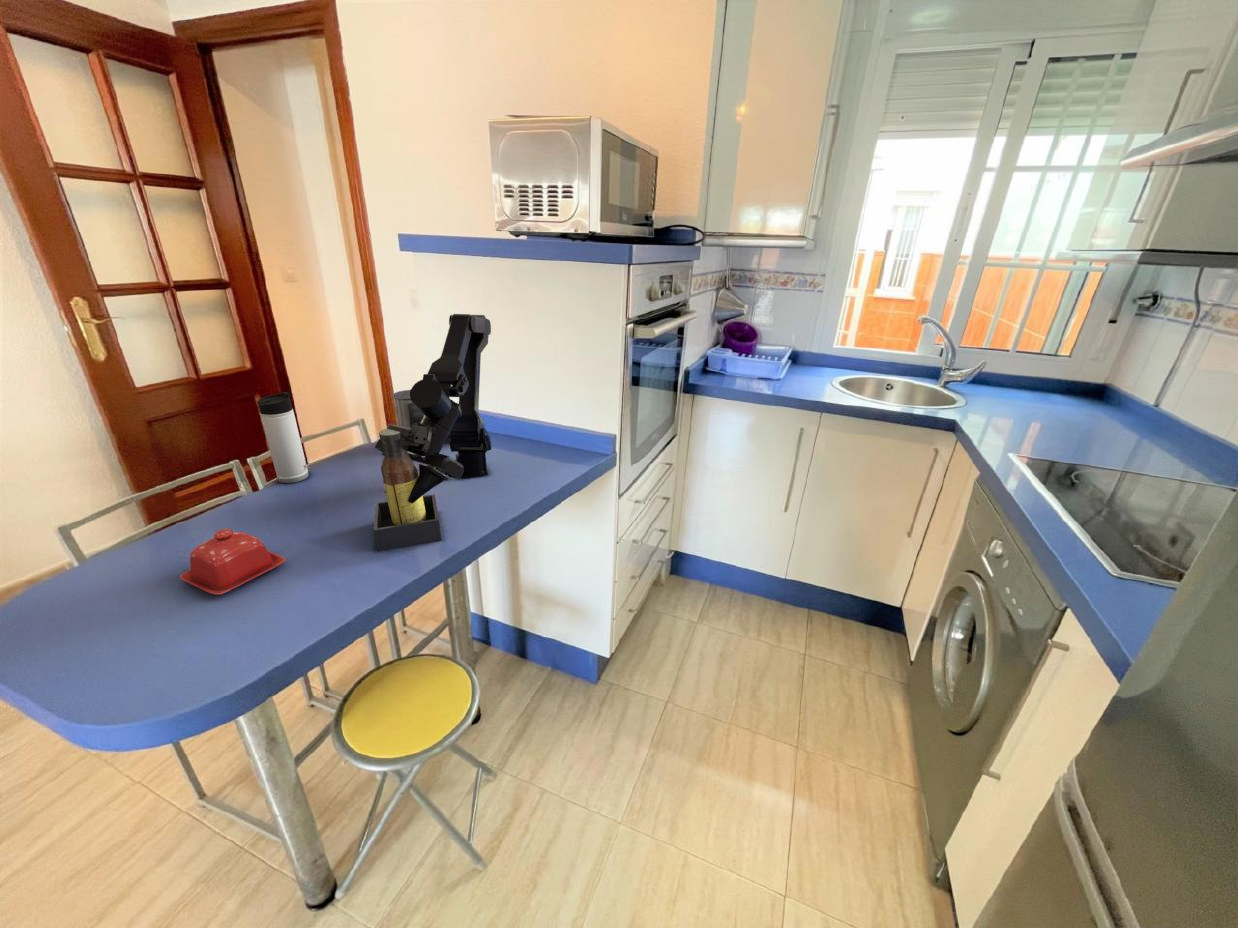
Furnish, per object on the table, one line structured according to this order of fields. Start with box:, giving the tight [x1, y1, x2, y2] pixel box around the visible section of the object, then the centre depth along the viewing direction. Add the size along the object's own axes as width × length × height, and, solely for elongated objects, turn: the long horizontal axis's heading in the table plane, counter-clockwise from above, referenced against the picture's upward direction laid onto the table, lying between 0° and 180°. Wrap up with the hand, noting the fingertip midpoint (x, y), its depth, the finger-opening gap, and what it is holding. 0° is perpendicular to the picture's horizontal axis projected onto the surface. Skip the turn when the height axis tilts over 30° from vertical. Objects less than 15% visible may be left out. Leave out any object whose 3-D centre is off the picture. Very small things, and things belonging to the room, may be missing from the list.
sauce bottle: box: [378, 427, 426, 526], centre depth 95 cm, size 7×6×20 cm
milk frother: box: [391, 389, 424, 428], centre depth 137 cm, size 14×16×15 cm
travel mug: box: [257, 392, 310, 484], centre depth 115 cm, size 6×7×20 cm
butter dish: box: [179, 528, 287, 596], centre depth 83 cm, size 12×12×8 cm
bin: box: [373, 493, 442, 552], centre depth 98 cm, size 11×11×4 cm
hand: (398, 498), depth 95 cm, fingers closed on sauce bottle, 6 cm apart
